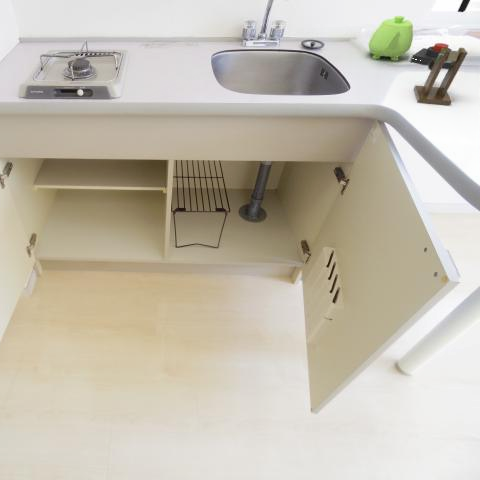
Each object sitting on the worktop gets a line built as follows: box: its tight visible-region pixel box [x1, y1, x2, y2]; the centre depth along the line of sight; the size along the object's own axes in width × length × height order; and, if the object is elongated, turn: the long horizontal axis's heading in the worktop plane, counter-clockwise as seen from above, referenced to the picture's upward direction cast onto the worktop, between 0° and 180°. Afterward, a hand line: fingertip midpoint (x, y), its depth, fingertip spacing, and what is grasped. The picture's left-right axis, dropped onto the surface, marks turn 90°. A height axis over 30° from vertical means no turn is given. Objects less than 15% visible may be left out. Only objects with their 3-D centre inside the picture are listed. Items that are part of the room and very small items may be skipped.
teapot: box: [368, 15, 414, 62], centre depth 123 cm, size 20×13×13 cm
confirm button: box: [433, 42, 450, 51], centre depth 119 cm, size 4×4×2 cm
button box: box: [409, 45, 453, 70], centre depth 120 cm, size 12×10×4 cm
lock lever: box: [427, 50, 460, 71], centre depth 99 cm, size 14×4×4 cm, turn 158°
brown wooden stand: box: [412, 47, 468, 106], centre depth 97 cm, size 10×8×13 cm
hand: (461, 11), depth 111 cm, fingers closed
